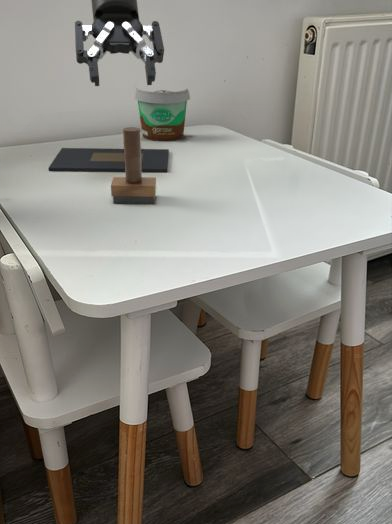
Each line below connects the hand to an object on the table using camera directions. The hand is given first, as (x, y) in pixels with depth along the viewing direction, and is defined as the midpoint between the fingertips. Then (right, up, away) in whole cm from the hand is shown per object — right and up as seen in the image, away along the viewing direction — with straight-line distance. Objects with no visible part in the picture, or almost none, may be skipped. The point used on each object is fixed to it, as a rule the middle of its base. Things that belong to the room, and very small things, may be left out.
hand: (123, 82), depth 90 cm
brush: (+2, -19, +1) cm, 19 cm away
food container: (+5, +4, +35) cm, 35 cm away
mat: (-5, -6, +19) cm, 21 cm away
